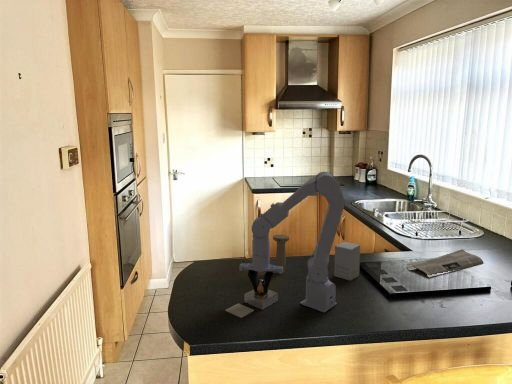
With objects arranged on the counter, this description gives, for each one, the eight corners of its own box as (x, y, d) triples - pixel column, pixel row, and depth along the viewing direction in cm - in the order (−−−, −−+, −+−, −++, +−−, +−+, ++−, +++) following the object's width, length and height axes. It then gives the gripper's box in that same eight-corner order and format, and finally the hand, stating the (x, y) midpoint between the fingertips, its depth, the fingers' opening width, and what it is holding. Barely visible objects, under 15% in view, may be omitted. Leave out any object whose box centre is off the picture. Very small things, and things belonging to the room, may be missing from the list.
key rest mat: (253, 311, 126) (253, 309, 126) (241, 318, 122) (241, 316, 122) (238, 304, 131) (238, 303, 131) (225, 310, 126) (225, 309, 126)
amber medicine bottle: (267, 299, 132) (267, 280, 131) (261, 302, 130) (261, 283, 129) (260, 296, 134) (260, 277, 133) (254, 299, 132) (254, 280, 131)
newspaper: (428, 279, 151) (429, 271, 151) (403, 269, 162) (403, 260, 162) (485, 264, 167) (486, 256, 167) (458, 255, 178) (459, 247, 177)
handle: (275, 268, 162) (275, 234, 159) (290, 271, 159) (290, 235, 156) (271, 272, 157) (271, 237, 155) (286, 275, 155) (286, 239, 152)
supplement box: (359, 275, 154) (361, 245, 152) (350, 281, 149) (351, 249, 147) (343, 270, 159) (344, 241, 157) (333, 276, 154) (334, 245, 152)
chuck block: (277, 301, 133) (277, 292, 132) (262, 309, 127) (262, 301, 126) (259, 294, 138) (259, 286, 138) (244, 302, 132) (244, 293, 132)
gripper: (284, 250, 132) (284, 288, 134) (242, 248, 135) (243, 285, 137) (281, 258, 125) (280, 297, 127) (237, 254, 128) (238, 293, 131)
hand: (261, 291), depth 132 cm, fingers closed on amber medicine bottle, 3 cm apart
